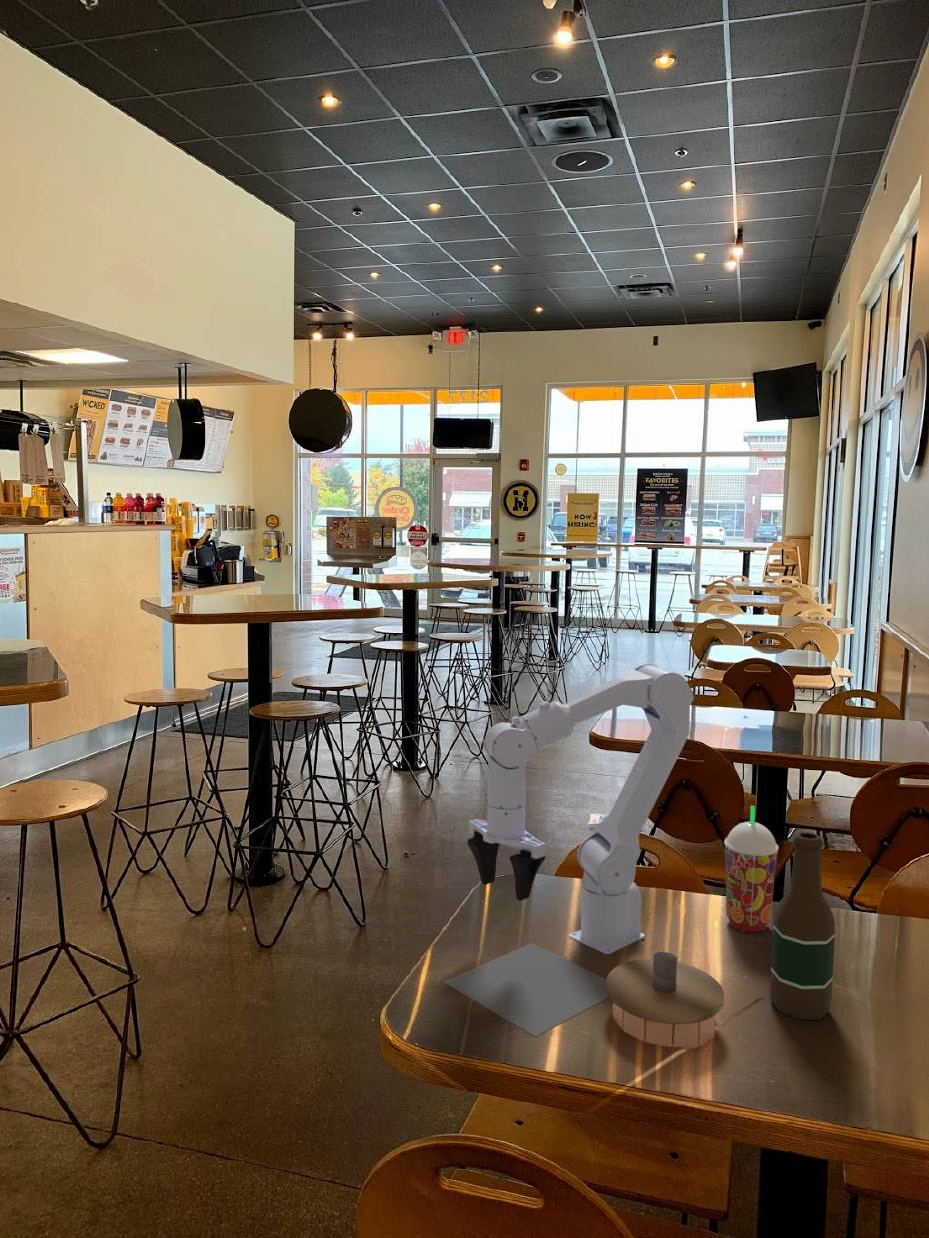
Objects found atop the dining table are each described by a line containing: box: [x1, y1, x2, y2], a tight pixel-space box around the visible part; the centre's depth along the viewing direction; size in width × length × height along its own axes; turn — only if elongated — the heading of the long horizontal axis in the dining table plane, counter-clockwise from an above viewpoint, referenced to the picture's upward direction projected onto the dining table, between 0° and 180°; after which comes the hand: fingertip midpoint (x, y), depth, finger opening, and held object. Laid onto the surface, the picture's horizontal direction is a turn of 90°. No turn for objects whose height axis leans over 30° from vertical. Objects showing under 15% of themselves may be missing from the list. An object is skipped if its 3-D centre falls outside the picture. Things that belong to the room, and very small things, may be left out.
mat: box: [443, 942, 610, 1038], centre depth 126 cm, size 18×18×1 cm
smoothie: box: [723, 805, 779, 933], centre depth 145 cm, size 8×8×20 cm
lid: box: [606, 951, 725, 1024], centre depth 117 cm, size 15×15×5 cm
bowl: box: [612, 1001, 717, 1051], centre depth 118 cm, size 13×13×4 cm
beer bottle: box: [769, 831, 836, 1021], centre depth 120 cm, size 8×8×24 cm
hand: (505, 890), depth 136 cm, fingers open, 7 cm apart
